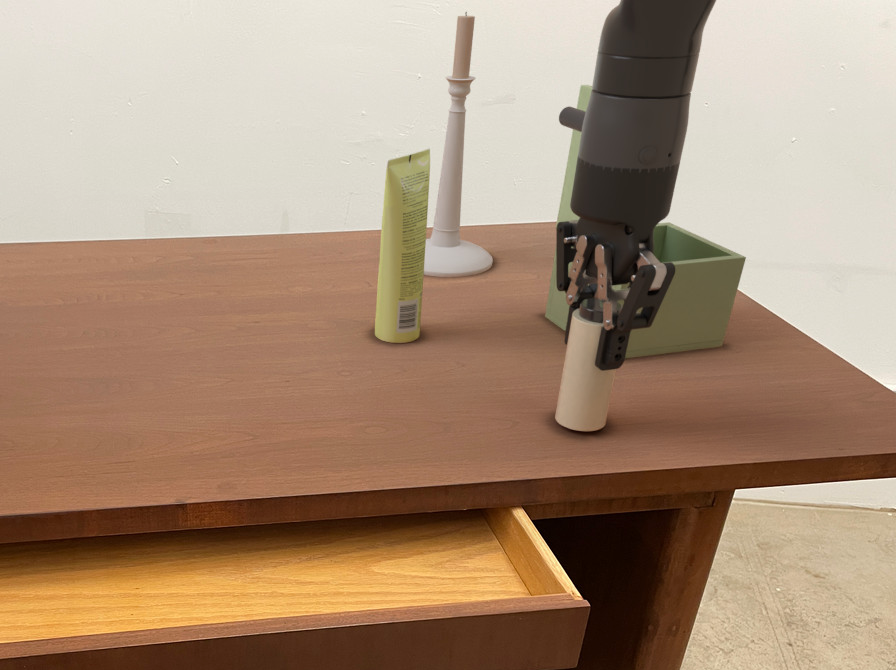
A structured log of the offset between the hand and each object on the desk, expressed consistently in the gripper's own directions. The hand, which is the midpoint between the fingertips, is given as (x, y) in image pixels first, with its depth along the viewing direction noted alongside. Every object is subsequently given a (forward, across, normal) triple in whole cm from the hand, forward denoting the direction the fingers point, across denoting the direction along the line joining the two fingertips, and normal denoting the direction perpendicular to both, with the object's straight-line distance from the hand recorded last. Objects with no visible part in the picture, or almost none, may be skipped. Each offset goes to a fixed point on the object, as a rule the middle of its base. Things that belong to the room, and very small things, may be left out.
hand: (591, 355), depth 80 cm
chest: (+7, +18, -17) cm, 26 cm away
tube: (+7, +24, +8) cm, 26 cm away
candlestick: (+7, +46, -7) cm, 47 cm away
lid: (-11, +18, -11) cm, 23 cm away
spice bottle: (+6, 0, 0) cm, 6 cm away
